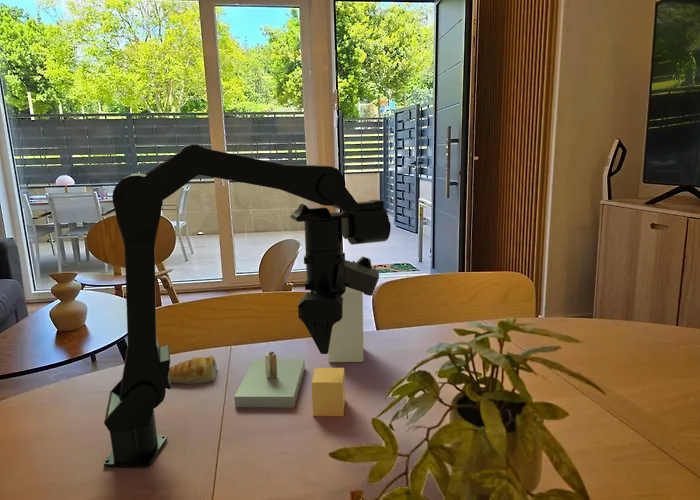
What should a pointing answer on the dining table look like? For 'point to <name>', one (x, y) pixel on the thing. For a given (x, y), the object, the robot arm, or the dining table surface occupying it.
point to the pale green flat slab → (271, 383)
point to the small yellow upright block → (328, 392)
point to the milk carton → (348, 330)
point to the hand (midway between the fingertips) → (326, 341)
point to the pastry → (194, 371)
